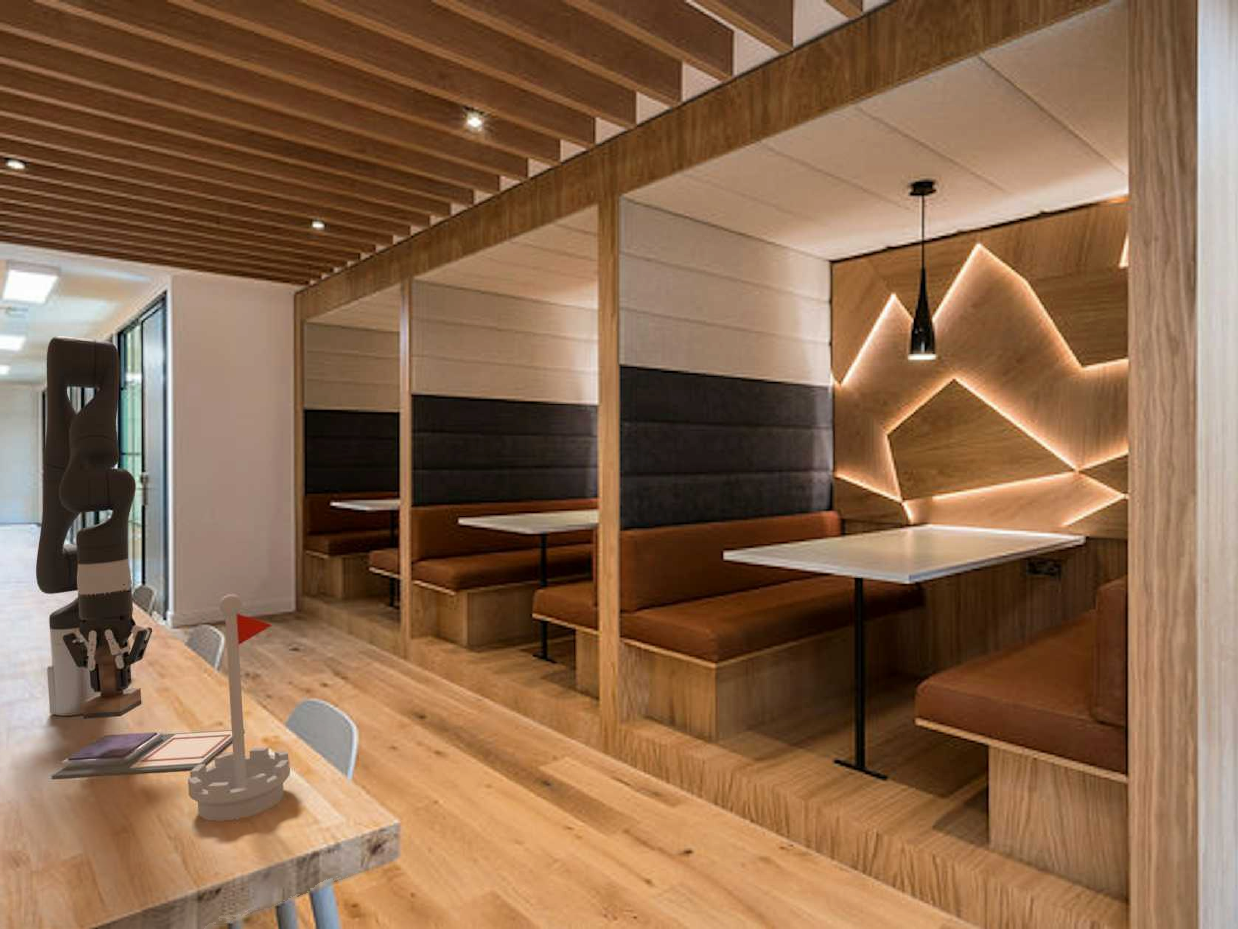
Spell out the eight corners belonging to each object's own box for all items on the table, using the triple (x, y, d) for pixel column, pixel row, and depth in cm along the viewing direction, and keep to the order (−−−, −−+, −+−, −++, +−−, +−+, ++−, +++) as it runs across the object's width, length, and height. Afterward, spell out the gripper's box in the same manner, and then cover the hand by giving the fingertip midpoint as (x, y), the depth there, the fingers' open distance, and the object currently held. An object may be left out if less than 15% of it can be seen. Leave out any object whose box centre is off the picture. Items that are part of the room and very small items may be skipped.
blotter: (51, 778, 122) (51, 774, 122) (113, 739, 138) (112, 735, 137) (200, 769, 123) (200, 764, 123) (244, 731, 139) (244, 727, 139)
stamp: (83, 718, 126) (78, 646, 126) (105, 706, 132) (101, 637, 132) (120, 716, 127) (115, 644, 126) (141, 704, 133) (137, 635, 132)
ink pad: (62, 769, 124) (61, 760, 124) (104, 742, 135) (103, 734, 135) (125, 765, 125) (125, 756, 124) (162, 739, 135) (162, 730, 135)
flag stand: (184, 834, 102) (170, 608, 101) (195, 794, 114) (182, 592, 113) (291, 811, 107) (279, 596, 106) (290, 775, 119) (280, 582, 118)
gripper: (46, 594, 125) (53, 700, 125) (135, 589, 126) (142, 694, 126) (76, 586, 132) (82, 686, 133) (160, 581, 133) (166, 680, 134)
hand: (111, 689), depth 129 cm, fingers closed on stamp, 3 cm apart
